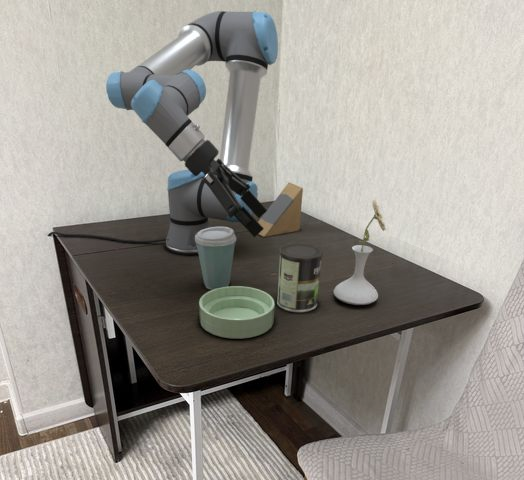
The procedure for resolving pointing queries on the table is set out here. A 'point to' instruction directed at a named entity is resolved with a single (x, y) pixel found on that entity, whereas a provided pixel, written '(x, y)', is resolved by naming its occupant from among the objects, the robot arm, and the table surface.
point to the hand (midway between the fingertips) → (261, 223)
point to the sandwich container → (283, 212)
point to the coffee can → (299, 277)
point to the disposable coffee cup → (216, 255)
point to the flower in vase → (360, 272)
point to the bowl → (236, 312)
